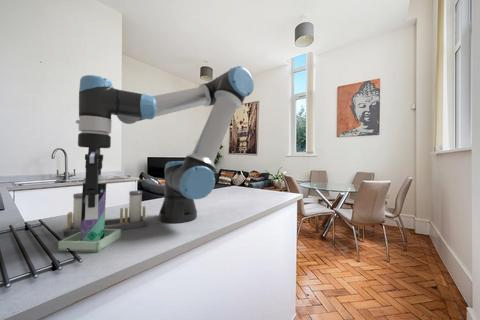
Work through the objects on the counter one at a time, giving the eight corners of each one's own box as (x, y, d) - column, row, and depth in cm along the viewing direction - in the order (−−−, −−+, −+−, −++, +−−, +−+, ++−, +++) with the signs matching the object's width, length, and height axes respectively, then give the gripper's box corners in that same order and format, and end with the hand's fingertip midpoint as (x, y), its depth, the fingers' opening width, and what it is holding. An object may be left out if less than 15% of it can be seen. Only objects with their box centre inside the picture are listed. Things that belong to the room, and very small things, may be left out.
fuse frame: (144, 219, 82) (144, 204, 82) (146, 226, 74) (147, 209, 74) (70, 227, 71) (70, 210, 71) (63, 236, 63) (64, 216, 63)
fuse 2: (143, 222, 79) (144, 190, 79) (137, 226, 74) (138, 192, 74) (132, 222, 79) (133, 190, 79) (126, 225, 74) (127, 192, 74)
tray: (120, 237, 64) (120, 229, 64) (97, 252, 53) (98, 242, 53) (87, 236, 64) (87, 228, 64) (58, 251, 53) (58, 241, 53)
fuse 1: (91, 228, 71) (92, 193, 71) (82, 232, 66) (83, 195, 66) (79, 228, 71) (80, 192, 71) (68, 232, 66) (70, 194, 66)
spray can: (77, 246, 55) (80, 170, 55) (83, 238, 60) (86, 169, 60) (101, 243, 57) (104, 170, 58) (105, 236, 62) (108, 170, 63)
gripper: (83, 135, 65) (81, 209, 65) (71, 128, 48) (68, 228, 48) (112, 137, 69) (110, 207, 69) (109, 131, 52) (106, 223, 52)
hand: (93, 215), depth 58 cm, fingers open, 6 cm apart
